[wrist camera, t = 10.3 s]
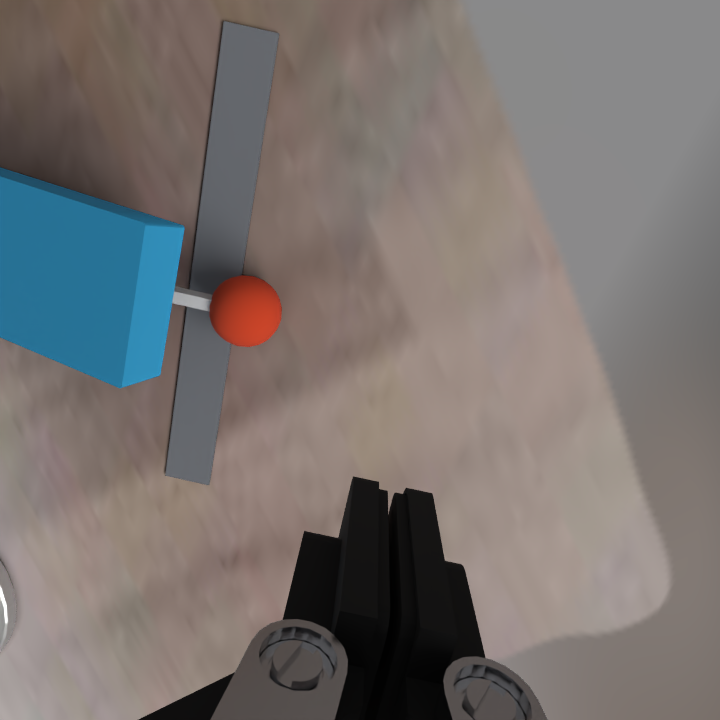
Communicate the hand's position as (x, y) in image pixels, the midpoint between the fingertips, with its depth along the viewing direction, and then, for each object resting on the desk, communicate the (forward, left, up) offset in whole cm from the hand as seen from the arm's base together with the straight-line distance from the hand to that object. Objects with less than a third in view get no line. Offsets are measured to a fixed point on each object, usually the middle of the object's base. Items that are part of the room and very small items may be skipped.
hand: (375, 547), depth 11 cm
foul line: (+1, +9, -17) cm, 20 cm away
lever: (+1, +15, -18) cm, 23 cm away
